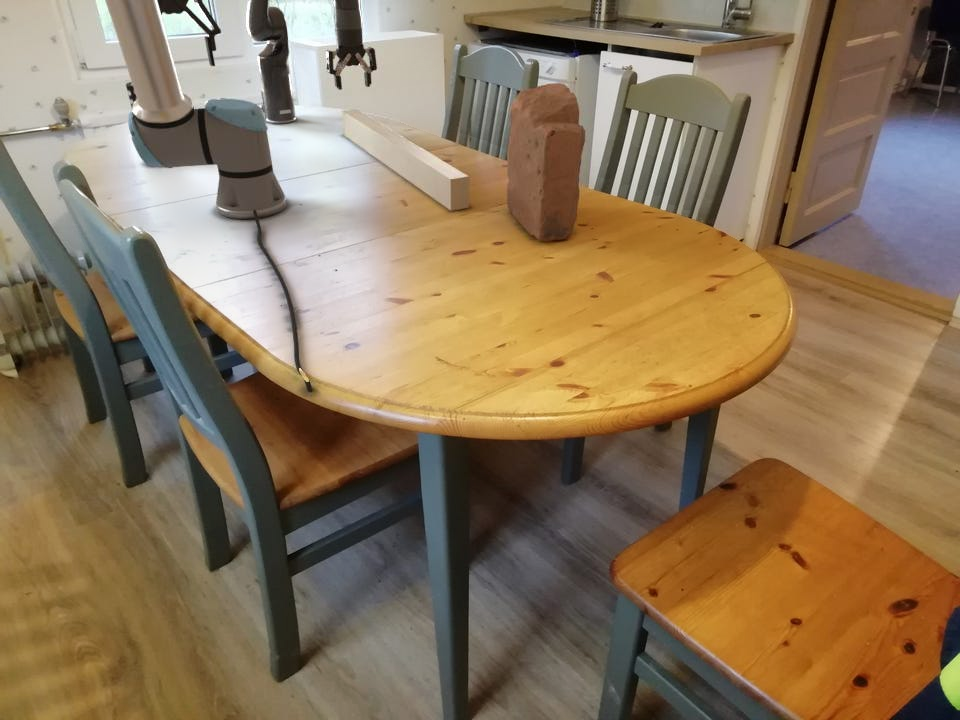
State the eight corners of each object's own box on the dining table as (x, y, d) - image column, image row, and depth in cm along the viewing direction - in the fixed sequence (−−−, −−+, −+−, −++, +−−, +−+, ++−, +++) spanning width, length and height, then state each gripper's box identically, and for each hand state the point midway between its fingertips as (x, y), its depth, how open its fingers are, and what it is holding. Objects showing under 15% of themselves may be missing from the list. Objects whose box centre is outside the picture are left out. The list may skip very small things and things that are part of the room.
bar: (468, 207, 160) (468, 176, 156) (450, 210, 158) (450, 179, 154) (358, 133, 213) (356, 109, 209) (344, 135, 211) (341, 110, 207)
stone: (590, 238, 144) (602, 97, 129) (540, 245, 141) (546, 100, 126) (549, 207, 161) (555, 80, 147) (504, 213, 158) (506, 82, 144)
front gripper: (215, -33, 168) (231, 61, 179) (103, -31, 157) (127, 69, 168) (223, -32, 162) (239, 65, 173) (107, -30, 151) (132, 73, 162)
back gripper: (367, 23, 197) (372, 83, 206) (319, 26, 191) (325, 87, 200) (377, 26, 192) (381, 88, 200) (328, 29, 186) (334, 92, 194)
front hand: (184, 67), depth 171 cm, fingers open, 13 cm apart
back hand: (353, 87), depth 200 cm, fingers open, 8 cm apart
